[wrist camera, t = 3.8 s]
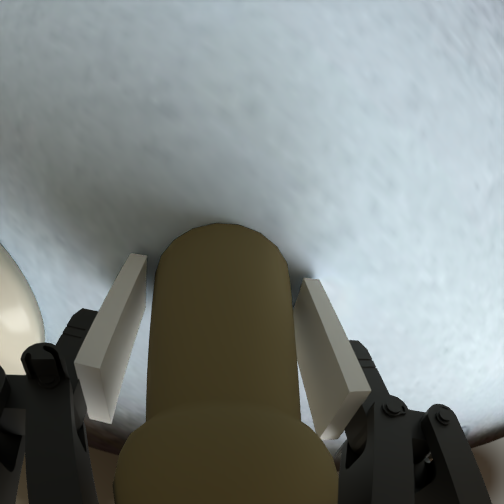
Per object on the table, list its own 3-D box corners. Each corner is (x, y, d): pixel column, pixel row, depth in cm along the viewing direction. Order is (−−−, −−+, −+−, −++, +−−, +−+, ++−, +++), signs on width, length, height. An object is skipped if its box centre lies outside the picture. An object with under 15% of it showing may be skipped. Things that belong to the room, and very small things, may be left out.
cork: (315, 291, 15) (406, 525, 5) (217, 356, 16) (222, 569, 6) (230, 192, 12) (250, 508, 2) (128, 280, 14) (42, 522, 4)
